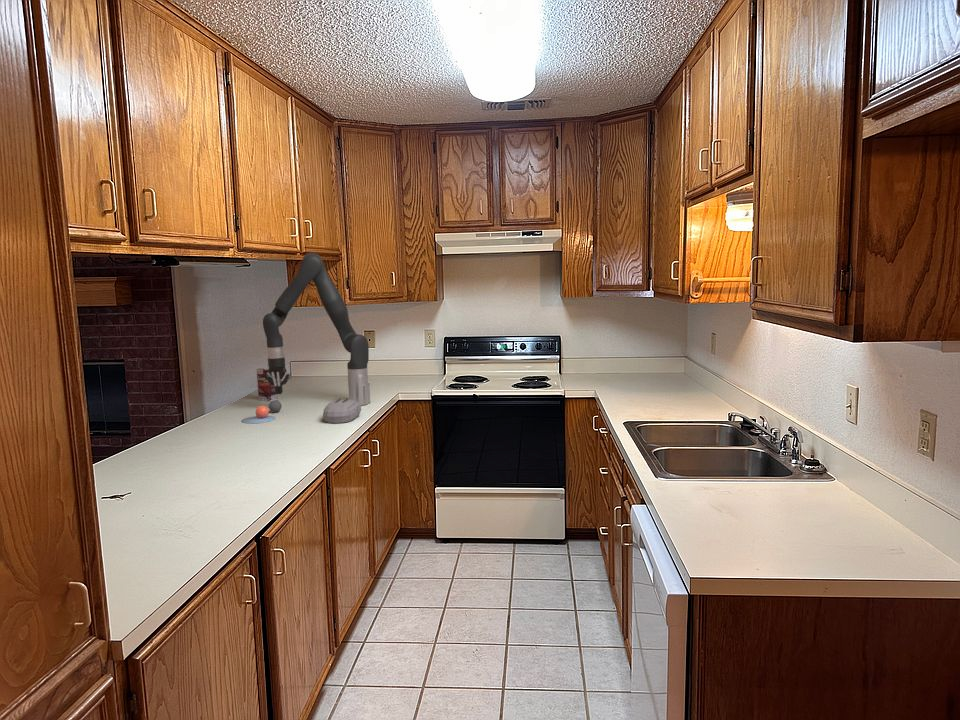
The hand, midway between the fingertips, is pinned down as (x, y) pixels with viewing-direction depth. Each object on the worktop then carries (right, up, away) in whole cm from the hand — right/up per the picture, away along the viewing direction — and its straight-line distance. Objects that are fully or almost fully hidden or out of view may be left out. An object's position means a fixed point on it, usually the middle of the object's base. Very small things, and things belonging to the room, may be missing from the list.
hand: (279, 393), depth 297 cm
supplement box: (-14, -5, +26) cm, 30 cm away
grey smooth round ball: (-1, -5, -4) cm, 7 cm away
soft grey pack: (+33, -10, -20) cm, 40 cm away
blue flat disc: (-3, -10, -18) cm, 21 cm away
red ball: (-3, -7, -16) cm, 17 cm away
